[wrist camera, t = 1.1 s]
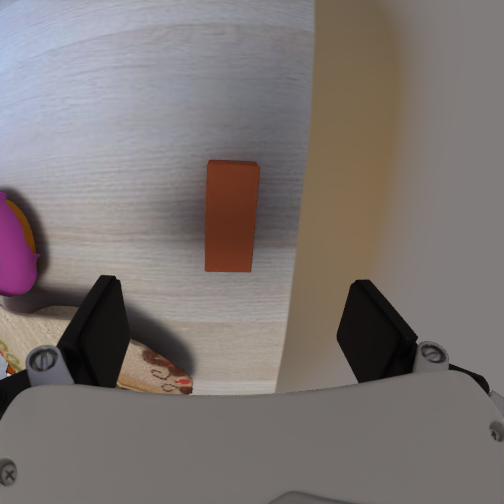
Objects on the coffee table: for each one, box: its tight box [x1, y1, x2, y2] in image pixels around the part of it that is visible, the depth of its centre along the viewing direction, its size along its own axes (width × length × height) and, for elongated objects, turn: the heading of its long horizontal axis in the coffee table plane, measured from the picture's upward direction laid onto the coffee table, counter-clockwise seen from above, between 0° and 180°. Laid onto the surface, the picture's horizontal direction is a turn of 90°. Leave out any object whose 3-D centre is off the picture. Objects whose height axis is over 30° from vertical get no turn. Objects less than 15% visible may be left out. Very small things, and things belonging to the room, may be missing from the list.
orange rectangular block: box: [205, 160, 260, 272], centre depth 21 cm, size 8×4×2 cm, turn 176°
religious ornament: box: [0, 304, 193, 395], centre depth 19 cm, size 25×20×12 cm
